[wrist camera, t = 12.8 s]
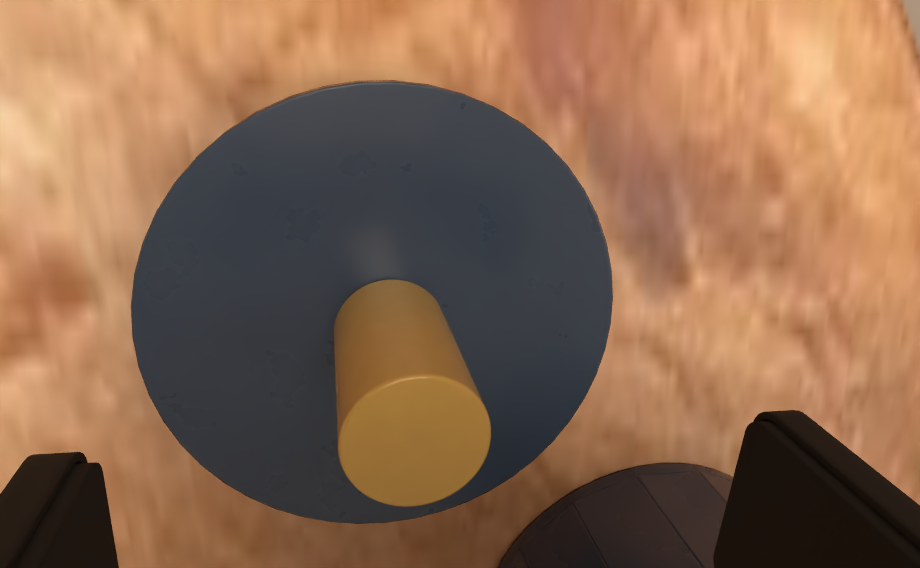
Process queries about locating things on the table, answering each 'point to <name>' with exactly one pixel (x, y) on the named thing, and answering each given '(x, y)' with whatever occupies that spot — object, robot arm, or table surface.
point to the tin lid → (371, 302)
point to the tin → (630, 522)
